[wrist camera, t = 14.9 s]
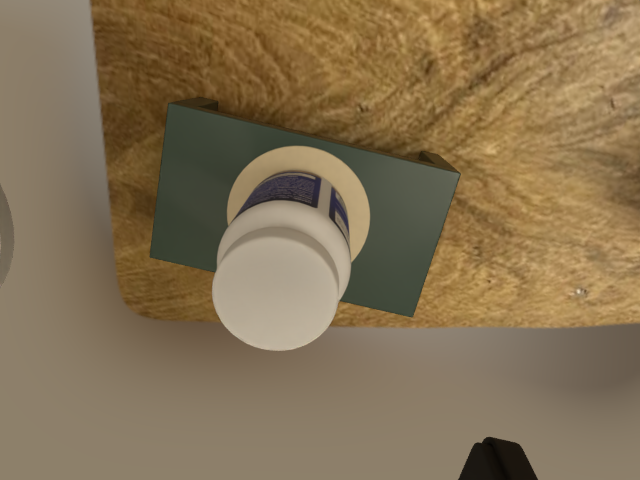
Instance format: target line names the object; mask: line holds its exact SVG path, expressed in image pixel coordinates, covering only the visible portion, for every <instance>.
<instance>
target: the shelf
mask: <svg viewBox="0 0 640 480" xmlns="http://www.w3.org/2000/svg"><path fill="white" fill-rule="evenodd" d="M217 107H218V101H215V100H211V99H207V98H203V97H199V98H193V99H187V100H182V101H176V102H171V103H168V110H167V119H166V127H165V135H164V143H163V151H162V159H161V168H160V176H159V184H158V192H157V200H156V208H155V217H154V225H153V233H152V241H151V249H150V258H155V259H159V260H164V261H168V262H172V263H177V264H181V265H185V266H190V267H194V268H198V269H203V270H207V271H212V272H216V270H217V254H218V249H219V245H220V242H221V239H222V237H223V235H224V232H225V231H226V229H227V228H228V226H229V225H230V223H231V222H232V220H233V219H234V218H235V216H236V215H237V213H238V212H239V210H240V209H241V207H242V206H243V204H244V203H245V202H246V200H247V199H248V197H249V196H250V194H251V193H252V191H253V190H254V189H255V188H256V186H257V185H258V184H260V183H261V182H262V181H263V180H264V179H266V178H267V177H269V176H270V175H273V174H275V173H277V172H281V171H285V170H294V169H297V170H306V171H310V172H313V173H315V174H318V175H320V176H321V177H323V178H325V179H326V180H328V181H329V182H330V183H331V184H332V185H333V186H334V187H335V188H336V189H337V190H338V192H339V193H340V195H341V196H342V198H343V200H344V203H345V205H346V209H347V213H348V220H349V236H350V252H351V272H350V278H349V282H348V285H347V288H346V290H345V292H344V294H343V296H342V297H341V299H340V301H343V302H347V303H351V304H356V305H360V306H364V307H369V308H373V309H377V310H382V311H386V312H391V313H395V314H399V315H404V316H408V317H413V315H414V312H415V309H416V306H417V303H418V300H419V297H420V294H421V291H422V288H423V285H424V282H425V279H426V276H427V273H428V270H429V267H430V264H431V261H432V258H433V255H434V252H435V249H436V246H437V243H438V240H439V237H440V234H441V231H442V228H443V225H444V222H445V219H446V216H447V213H448V210H449V207H450V204H451V201H452V198H453V195H454V192H455V189H456V186H457V183H458V180H459V178H460V175H461V173H460V172H458V171H457V170H456V169H455V168H454V167H452V166H451V165H450V164H449V163H448V162H447V161H445V160H444V159H443V158H442V157H441V156H439V155H438V154H433V153H429V152H425V151H421V154H420V158H419V160H416V159H412V158H408V157H403V156H399V155H395V154H391V153H387V152H383V151H379V150H375V149H370V148H366V147H362V146H358V145H354V144H350V143H346V142H341V141H337V140H333V139H329V138H325V137H321V136H317V135H312V134H308V133H304V132H300V131H296V130H292V129H288V128H284V127H279V126H275V125H271V124H267V123H263V122H259V121H255V120H250V119H246V118H242V117H238V116H234V115H230V114H226V113H221V112H217Z"/></svg>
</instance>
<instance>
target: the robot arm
mask: <svg viewBox="0 0 640 480" xmlns="http://www.w3.org/2000/svg"><path fill="white" fill-rule="evenodd" d="M458 480H538V479H537V477H536V475H535V473H534V471H533V469H532V467H531V465H530V463H529V461H528V459H527V457H526V455H525V453H524V451H523V449H522V448H521V446H520V445H519V444H517V443H515V442H510V441H506V440H501V439H497V438H493V437H486V438H485V439H484V440H483V442H482V443H475V444H474V446H473V448H472V449H471V452H470V454H469V456H468V459H467V461H466V463H465V465H464V468H463V470H462V472H461V475H460V478H459V479H458Z"/></svg>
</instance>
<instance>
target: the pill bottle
mask: <svg viewBox="0 0 640 480" xmlns="http://www.w3.org/2000/svg"><path fill="white" fill-rule="evenodd" d="M350 272H351V252H350V236H349V220H348V213H347V209H346V205H345V203H344V200H343V198H342V196H341V195H340V193H339V192H338V190H337V189H336V188H335V187H334V186H333V185H332V184H331V183H330V182H329V181H328V180H326V179H325V178H323V177H321V176H320V175H318V174H315V173H313V172H310V171H306V170H297V169H294V170H285V171H281V172H277V173H275V174H273V175H270V176H269V177H267V178H266V179H264V180H263V181H262V182H261V183H260V184H258V185H257V186H256V188H255V189H254V190H253V191H252V193H251V194H250V196H249V197H248V199H247V200H246V202H245V203H244V204H243V206H242V207H241V209H240V210H239V212H238V213H237V215H236V216H235V218H234V219H233V220H232V222H231V223H230V225H229V226H228V228H227V229H226V231H225V232H224V235H223V237H222V239H221V242H220V245H219V249H218V254H217V270H216V272H215V275H214V279H213V284H212V297H213V303H214V306H215V310H216V312H217V314H218V316H219V318H220V320H221V321H222V323H223V324H224V325H225V327H226V328H227V329H228V330H229V331H230V332H231V333H232V334H233V335H234V336H236V337H237V338H239V339H240V340H241V341H243V342H245V343H247V344H249V345H251V346H254V347H257V348H261V349H265V350H274V351H284V350H291V349H295V348H298V347H301V346H304V345H306V344H308V343H310V342H312V341H313V340H315V339H316V338H318V337H319V336H320V335H321V334H322V333H323V332H324V331H325V330H326V329H327V328H328V326H329V325H330V323H331V322H332V320H333V318H334V316H335V313H336V310H337V306H338V302H339V301H340V299H341V297H342V296H343V294H344V292H345V290H346V288H347V285H348V282H349V278H350Z"/></svg>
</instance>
